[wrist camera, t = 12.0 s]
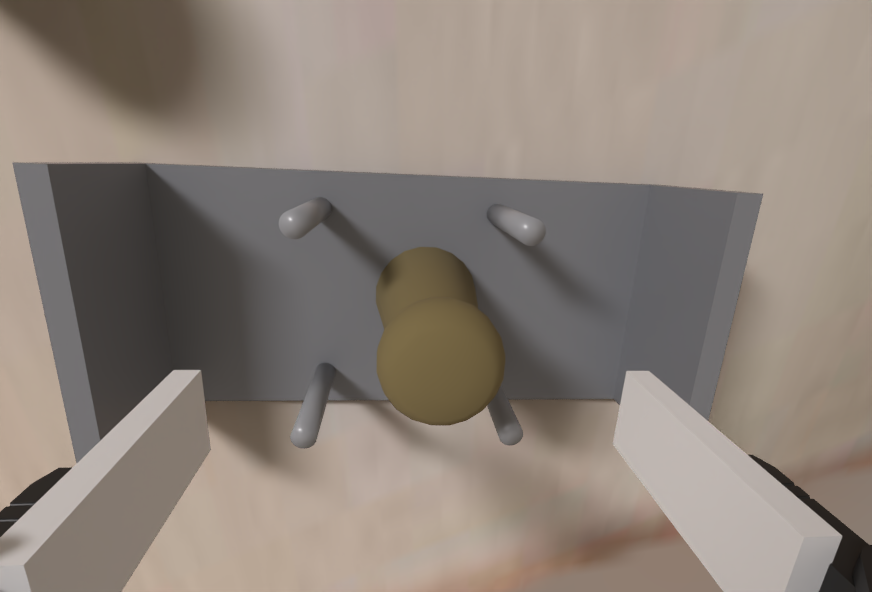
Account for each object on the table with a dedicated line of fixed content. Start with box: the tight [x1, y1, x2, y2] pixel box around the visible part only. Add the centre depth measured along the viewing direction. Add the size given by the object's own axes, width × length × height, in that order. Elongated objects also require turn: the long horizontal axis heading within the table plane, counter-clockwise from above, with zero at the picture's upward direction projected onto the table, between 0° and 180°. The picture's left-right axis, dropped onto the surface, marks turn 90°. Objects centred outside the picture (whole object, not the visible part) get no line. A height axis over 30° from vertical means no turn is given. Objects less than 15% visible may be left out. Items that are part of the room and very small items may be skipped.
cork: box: [376, 247, 505, 425], centre depth 22 cm, size 6×6×11 cm
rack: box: [13, 163, 763, 463], centre depth 24 cm, size 30×14×8 cm, turn 88°
